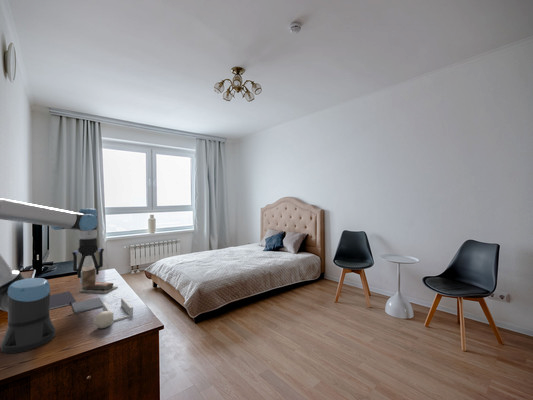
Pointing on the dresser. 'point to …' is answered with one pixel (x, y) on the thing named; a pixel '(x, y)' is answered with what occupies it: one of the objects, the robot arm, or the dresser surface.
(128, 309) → the rack
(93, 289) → the packaged product
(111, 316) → the cream piece
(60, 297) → the notebook
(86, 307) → the felt pad
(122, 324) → the dresser surface
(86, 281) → the panel
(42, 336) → the robot arm
